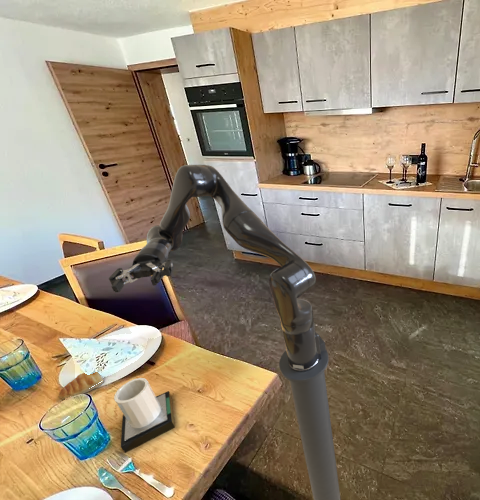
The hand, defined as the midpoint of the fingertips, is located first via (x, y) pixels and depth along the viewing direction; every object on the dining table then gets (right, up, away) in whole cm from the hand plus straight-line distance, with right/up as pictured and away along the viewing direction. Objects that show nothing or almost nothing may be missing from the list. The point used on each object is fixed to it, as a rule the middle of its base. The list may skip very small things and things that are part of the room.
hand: (134, 286), depth 74 cm
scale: (+7, -33, -4) cm, 34 cm away
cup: (+7, -30, -5) cm, 32 cm away
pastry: (-18, -29, +7) cm, 35 cm away
